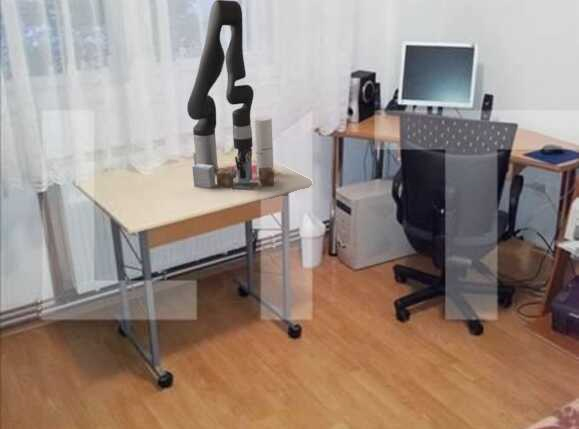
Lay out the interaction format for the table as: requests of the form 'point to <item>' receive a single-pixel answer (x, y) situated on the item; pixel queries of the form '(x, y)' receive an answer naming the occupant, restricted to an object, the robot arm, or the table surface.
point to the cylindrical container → (263, 142)
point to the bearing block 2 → (266, 176)
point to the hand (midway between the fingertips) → (245, 176)
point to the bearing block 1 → (225, 177)
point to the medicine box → (204, 175)
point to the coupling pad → (244, 185)
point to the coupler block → (248, 172)
